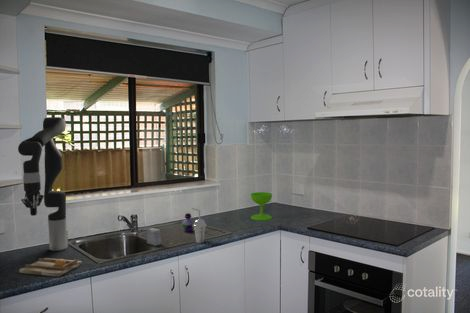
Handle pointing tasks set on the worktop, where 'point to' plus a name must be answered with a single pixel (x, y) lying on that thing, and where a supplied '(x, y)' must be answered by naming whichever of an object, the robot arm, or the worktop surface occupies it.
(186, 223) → the potion bottle
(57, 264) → the ball
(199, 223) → the cup with straw
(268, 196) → the wineglass
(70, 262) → the beige tray
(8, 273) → the worktop surface
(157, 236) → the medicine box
